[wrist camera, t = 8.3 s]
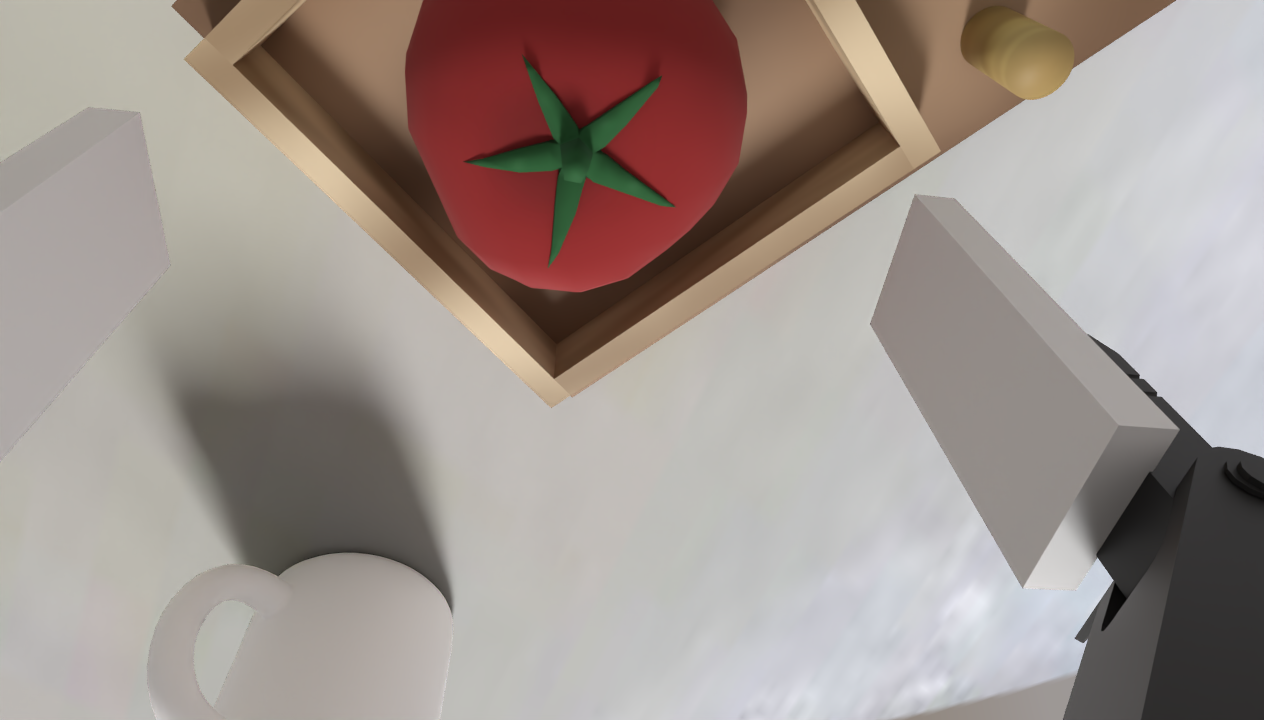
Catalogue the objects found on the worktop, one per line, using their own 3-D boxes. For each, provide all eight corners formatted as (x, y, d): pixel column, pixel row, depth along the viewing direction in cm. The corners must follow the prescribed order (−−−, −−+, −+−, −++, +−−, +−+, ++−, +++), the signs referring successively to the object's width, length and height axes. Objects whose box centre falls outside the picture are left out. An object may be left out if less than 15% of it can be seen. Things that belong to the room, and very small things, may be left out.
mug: (151, 540, 33) (-4, 794, 24) (307, 456, 31) (197, 703, 22) (352, 690, 39) (283, 937, 30) (494, 628, 37) (463, 875, 28)
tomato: (403, -59, 20) (322, -3, 14) (724, -94, 20) (778, -54, 14) (469, 234, 25) (429, 370, 19) (733, 207, 25) (776, 335, 19)
